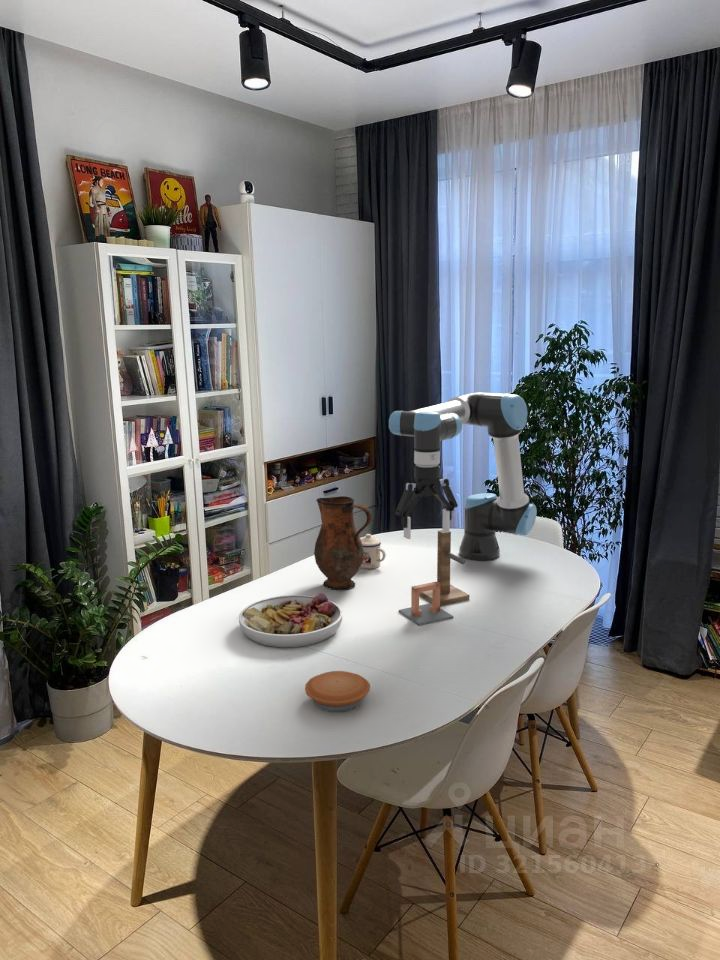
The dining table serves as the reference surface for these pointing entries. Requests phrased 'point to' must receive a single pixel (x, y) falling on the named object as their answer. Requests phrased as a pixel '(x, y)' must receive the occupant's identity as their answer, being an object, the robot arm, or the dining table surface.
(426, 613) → the coaster
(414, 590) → the c link
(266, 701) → the dining table surface
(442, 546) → the hook stand
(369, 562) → the teacup with lid
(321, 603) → the bowl
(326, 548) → the pitcher
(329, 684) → the pie
